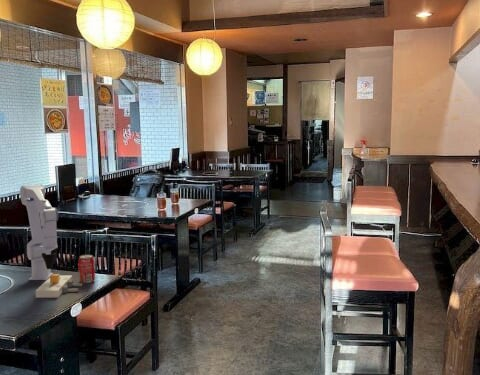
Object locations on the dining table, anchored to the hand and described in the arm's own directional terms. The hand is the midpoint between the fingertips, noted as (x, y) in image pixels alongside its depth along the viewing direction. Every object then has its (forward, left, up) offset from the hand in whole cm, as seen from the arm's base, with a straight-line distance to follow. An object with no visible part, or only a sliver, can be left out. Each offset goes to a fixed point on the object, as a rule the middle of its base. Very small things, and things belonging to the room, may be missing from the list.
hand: (50, 266), depth 201 cm
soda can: (-7, +14, -10) cm, 18 cm away
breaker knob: (+3, +3, -6) cm, 7 cm away
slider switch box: (+3, +3, -10) cm, 10 cm away
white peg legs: (+3, +10, -10) cm, 14 cm away
